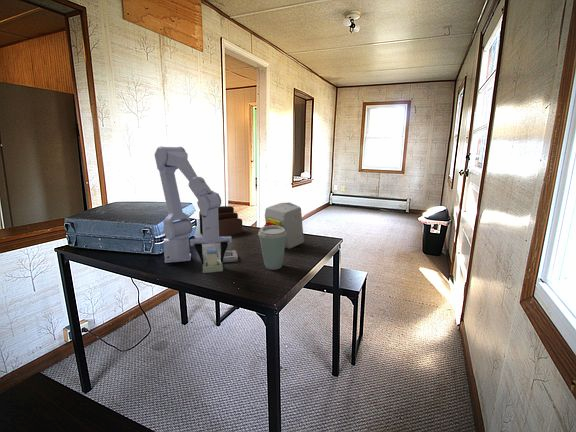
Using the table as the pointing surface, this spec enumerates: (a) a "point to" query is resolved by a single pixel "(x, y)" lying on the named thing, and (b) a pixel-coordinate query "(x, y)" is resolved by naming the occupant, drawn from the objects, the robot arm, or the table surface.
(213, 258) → the plug
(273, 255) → the disposable coffee cup
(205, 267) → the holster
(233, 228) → the letter holder
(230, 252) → the panel
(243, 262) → the table surface
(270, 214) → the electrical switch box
